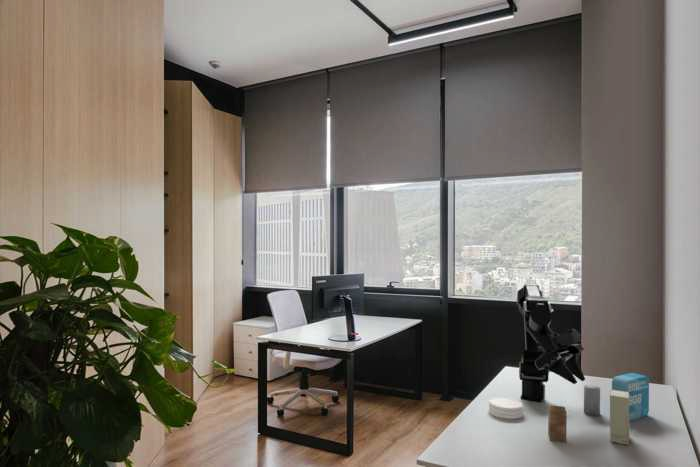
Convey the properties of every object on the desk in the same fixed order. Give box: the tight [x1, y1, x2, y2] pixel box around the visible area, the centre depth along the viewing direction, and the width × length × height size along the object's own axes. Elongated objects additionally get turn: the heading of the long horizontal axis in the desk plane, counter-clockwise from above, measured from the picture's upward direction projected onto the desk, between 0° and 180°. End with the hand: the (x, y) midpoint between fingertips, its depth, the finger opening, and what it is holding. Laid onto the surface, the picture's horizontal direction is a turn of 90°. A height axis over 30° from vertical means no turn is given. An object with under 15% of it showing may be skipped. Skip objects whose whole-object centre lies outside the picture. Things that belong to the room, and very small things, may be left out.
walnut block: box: [547, 404, 568, 444], centre depth 124 cm, size 4×4×8 cm
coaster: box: [488, 396, 524, 420], centre depth 142 cm, size 10×10×4 cm
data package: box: [611, 372, 650, 422], centre depth 141 cm, size 12×4×12 cm, turn 120°
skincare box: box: [609, 389, 630, 446], centre depth 124 cm, size 6×4×12 cm
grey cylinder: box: [583, 384, 601, 417], centre depth 143 cm, size 4×4×8 cm
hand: (579, 381), depth 132 cm, fingers open, 4 cm apart
